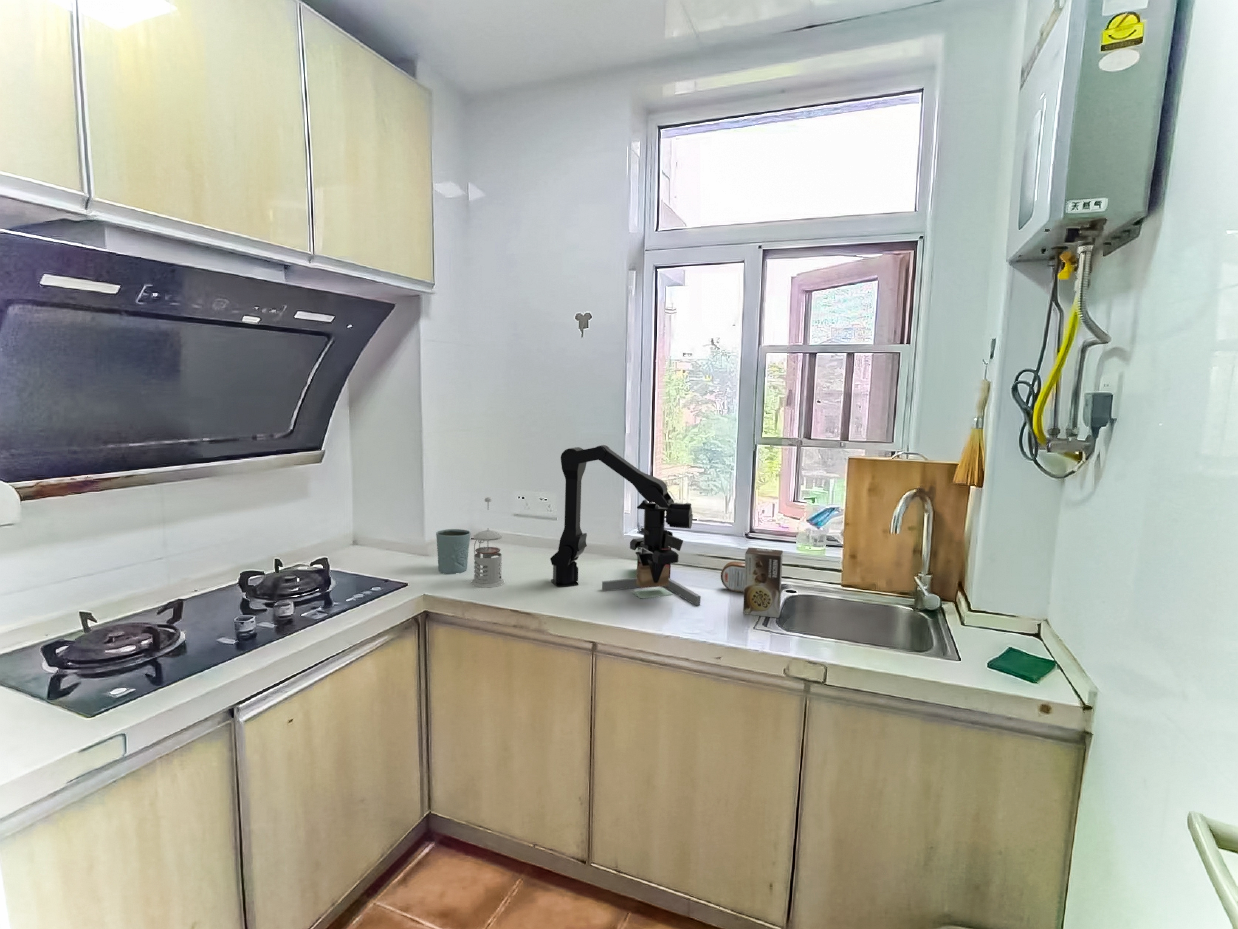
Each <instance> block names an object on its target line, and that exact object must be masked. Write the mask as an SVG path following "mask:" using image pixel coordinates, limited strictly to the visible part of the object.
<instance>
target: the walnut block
mask: <svg viewBox="0 0 1238 929" xmlns="http://www.w3.org/2000/svg"><path fill="white" fill-rule="evenodd" d="M636 578H637V580H636V584H637V585H638V586H640V587H639V588H641V589H650V588H662V587H665V586H668V582H669V568H668V567H666V566H664V568H663V570H662V573H661V576H660V578H659V581H658V583H654V581H653V578H652V574H651V570H650V566H637V565H636Z"/></svg>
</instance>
